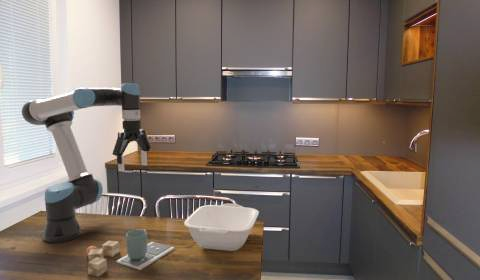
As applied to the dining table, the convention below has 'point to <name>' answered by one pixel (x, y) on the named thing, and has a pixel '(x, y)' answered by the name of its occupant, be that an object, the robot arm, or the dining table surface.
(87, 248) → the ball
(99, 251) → the block
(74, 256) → the dining table surface
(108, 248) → the block
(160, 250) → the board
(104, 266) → the block
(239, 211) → the baking dish
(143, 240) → the cup
